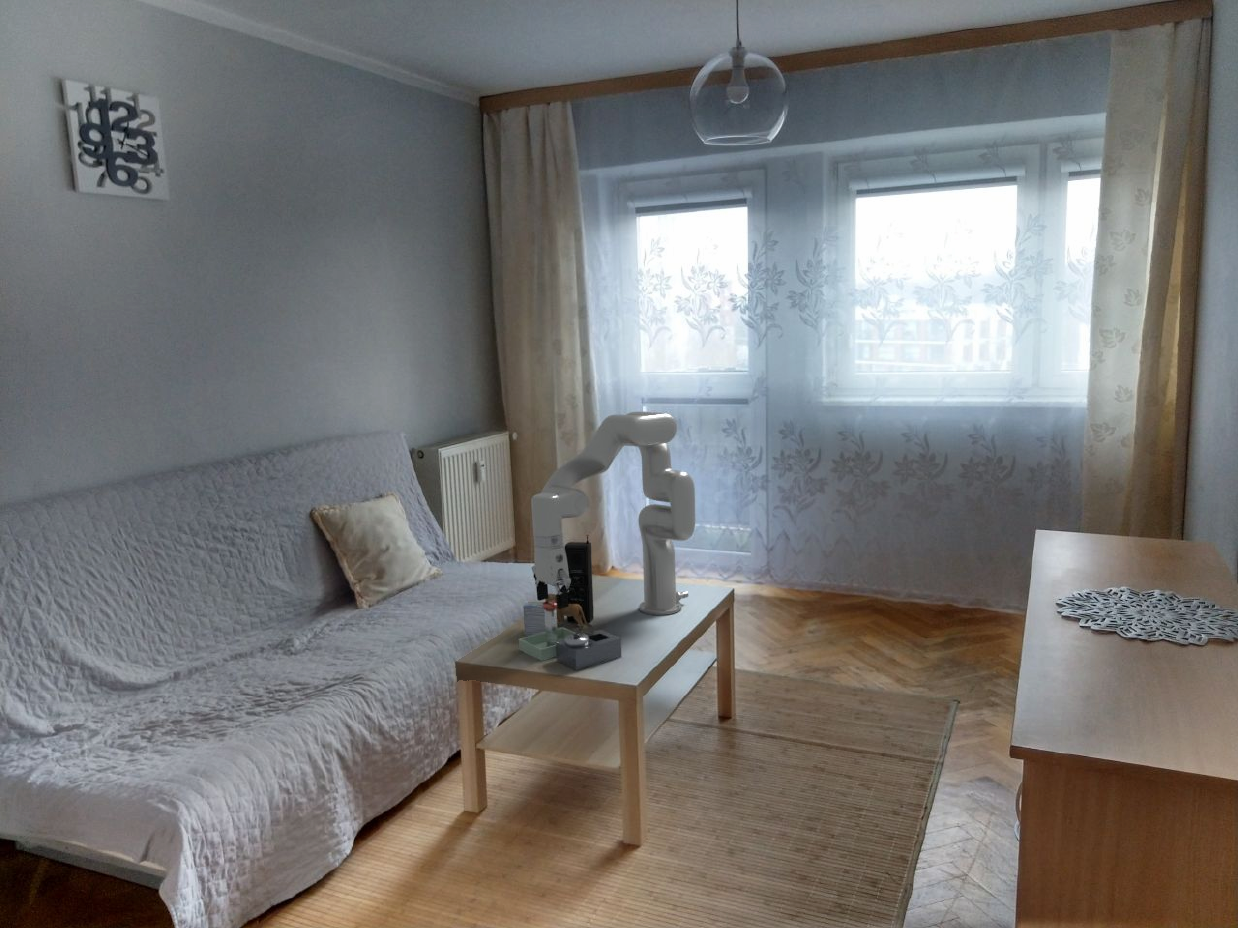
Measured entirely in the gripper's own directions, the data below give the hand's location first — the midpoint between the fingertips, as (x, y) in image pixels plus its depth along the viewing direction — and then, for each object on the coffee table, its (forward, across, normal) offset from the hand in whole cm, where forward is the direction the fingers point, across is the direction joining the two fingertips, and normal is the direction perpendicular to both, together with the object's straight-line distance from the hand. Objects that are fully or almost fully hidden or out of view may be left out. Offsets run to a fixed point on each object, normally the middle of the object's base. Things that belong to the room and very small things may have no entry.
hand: (552, 603), depth 240 cm
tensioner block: (+12, -13, -2) cm, 18 cm away
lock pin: (+12, 0, +1) cm, 12 cm away
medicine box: (+13, +12, -3) cm, 18 cm away
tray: (+12, 0, +1) cm, 12 cm away
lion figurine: (+13, +13, -12) cm, 22 cm away
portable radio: (+13, +15, -18) cm, 27 cm away
